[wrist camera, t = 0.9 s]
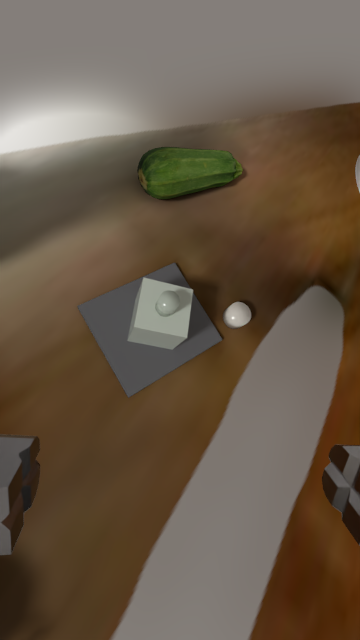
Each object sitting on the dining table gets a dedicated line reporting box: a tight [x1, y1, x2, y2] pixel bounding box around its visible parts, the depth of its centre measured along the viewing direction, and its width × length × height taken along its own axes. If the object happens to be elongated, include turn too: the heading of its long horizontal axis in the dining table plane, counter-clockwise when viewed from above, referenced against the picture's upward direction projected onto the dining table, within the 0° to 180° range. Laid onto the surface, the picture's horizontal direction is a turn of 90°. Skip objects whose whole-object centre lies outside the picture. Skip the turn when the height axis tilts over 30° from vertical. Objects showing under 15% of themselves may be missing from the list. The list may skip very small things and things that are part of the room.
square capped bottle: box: [127, 277, 193, 350], centre depth 37 cm, size 6×6×10 cm
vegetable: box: [137, 147, 243, 199], centre depth 49 cm, size 7×7×20 cm
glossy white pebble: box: [223, 302, 251, 329], centre depth 45 cm, size 4×4×2 cm
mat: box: [78, 263, 222, 397], centre depth 42 cm, size 14×16×1 cm
